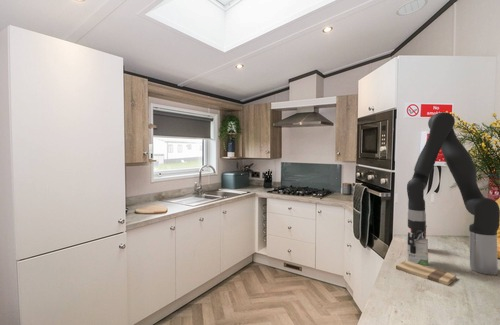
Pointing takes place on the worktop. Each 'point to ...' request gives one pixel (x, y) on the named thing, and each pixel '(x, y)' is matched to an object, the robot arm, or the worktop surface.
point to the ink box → (419, 252)
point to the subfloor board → (426, 272)
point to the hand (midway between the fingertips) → (416, 251)
